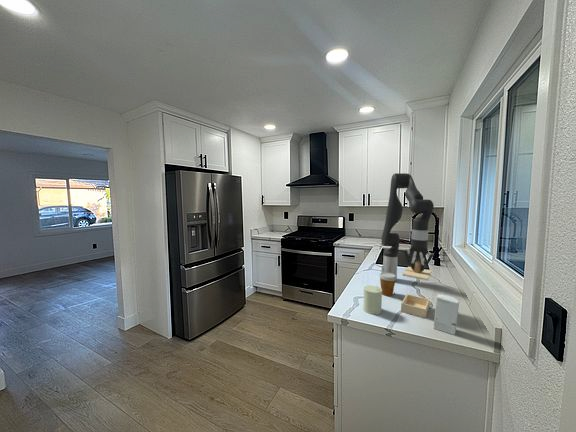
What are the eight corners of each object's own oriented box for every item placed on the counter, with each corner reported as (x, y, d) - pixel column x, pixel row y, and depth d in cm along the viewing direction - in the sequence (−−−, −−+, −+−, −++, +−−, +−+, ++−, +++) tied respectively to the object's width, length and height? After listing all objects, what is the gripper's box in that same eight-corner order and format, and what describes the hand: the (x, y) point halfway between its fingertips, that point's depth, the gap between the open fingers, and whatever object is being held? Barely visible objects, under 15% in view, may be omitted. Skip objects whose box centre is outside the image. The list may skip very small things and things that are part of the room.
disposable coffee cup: (394, 291, 147) (395, 273, 146) (396, 298, 138) (397, 278, 137) (378, 289, 150) (379, 271, 149) (378, 296, 141) (379, 276, 140)
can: (379, 316, 118) (380, 293, 117) (360, 311, 123) (361, 289, 122) (383, 308, 126) (384, 286, 125) (365, 304, 131) (366, 283, 130)
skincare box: (433, 328, 107) (435, 297, 106) (435, 323, 112) (437, 292, 111) (455, 335, 102) (458, 302, 101) (457, 329, 107) (459, 297, 105)
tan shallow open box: (400, 311, 123) (401, 303, 122) (406, 301, 134) (406, 293, 133) (425, 318, 116) (425, 309, 116) (428, 307, 127) (429, 299, 127)
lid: (402, 275, 122) (403, 263, 121) (408, 268, 133) (408, 256, 133) (427, 280, 115) (428, 267, 114) (431, 272, 126) (432, 260, 126)
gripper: (403, 237, 123) (401, 269, 125) (434, 241, 115) (432, 275, 117) (406, 235, 129) (404, 266, 131) (436, 238, 121) (434, 271, 123)
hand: (417, 270), depth 124 cm, fingers closed on lid, 3 cm apart
